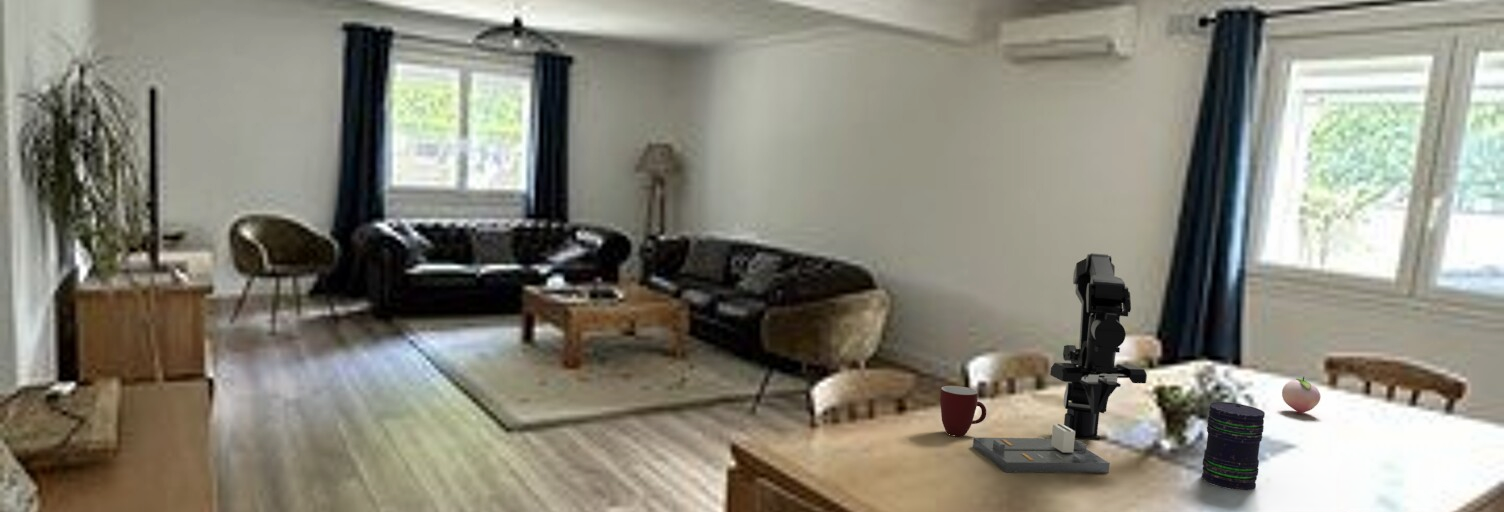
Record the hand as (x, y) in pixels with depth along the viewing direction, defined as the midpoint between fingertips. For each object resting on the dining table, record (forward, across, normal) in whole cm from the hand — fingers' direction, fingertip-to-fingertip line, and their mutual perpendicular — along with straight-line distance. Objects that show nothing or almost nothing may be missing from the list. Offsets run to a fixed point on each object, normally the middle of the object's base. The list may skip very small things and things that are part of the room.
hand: (1094, 413), depth 190 cm
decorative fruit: (+10, -82, -39) cm, 92 cm away
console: (+10, +12, 0) cm, 15 cm away
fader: (+8, +7, 0) cm, 10 cm away
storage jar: (+10, -22, +13) cm, 28 cm away
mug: (+10, +22, -17) cm, 29 cm away
